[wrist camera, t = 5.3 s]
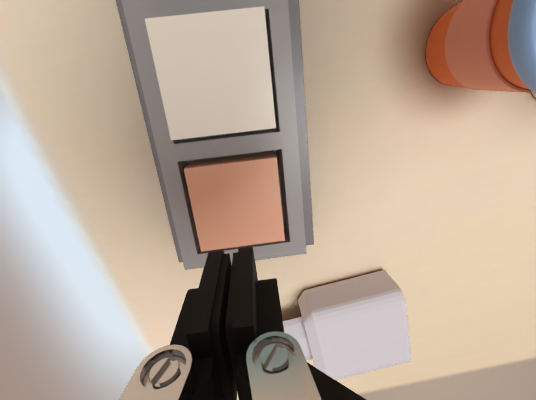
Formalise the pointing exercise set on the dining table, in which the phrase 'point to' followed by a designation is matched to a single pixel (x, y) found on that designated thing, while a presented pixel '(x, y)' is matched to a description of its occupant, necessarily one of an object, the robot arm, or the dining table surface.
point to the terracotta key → (236, 200)
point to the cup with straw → (485, 46)
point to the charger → (353, 325)
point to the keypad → (186, 150)
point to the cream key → (213, 71)
